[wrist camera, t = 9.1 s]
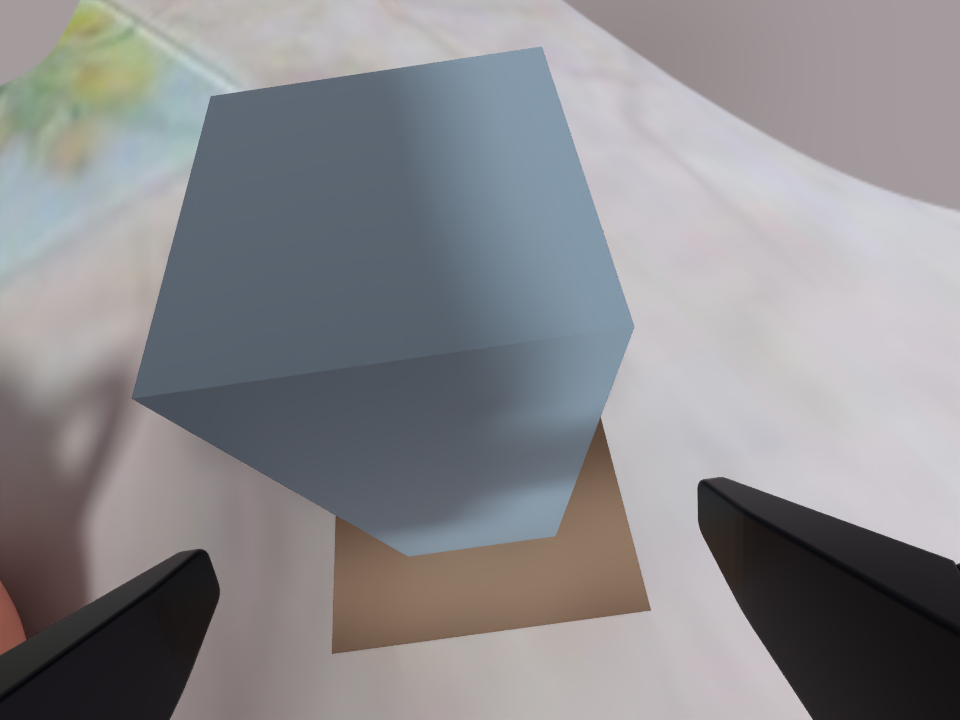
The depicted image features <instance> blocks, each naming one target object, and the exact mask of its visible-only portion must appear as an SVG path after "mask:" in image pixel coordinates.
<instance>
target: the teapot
mask: <svg viewBox="0 0 960 720" xmlns="http://www.w3.org/2000/svg"><path fill="white" fill-rule="evenodd" d="M24 641H26V636H25V633H24V629H23V626H22V622H21V620H20V617H19V615H18V613H17V610H16V608H15V606H14V604H13V602H12V600H11V598H10V596H9V594H8V592H7V591H6V589H5V587H4V586H3V584H2V582H1V580H0V655H1V654H3V653H5V652H7V651H8V650H10V649H12V648H13V647H15V646H17V645H19V644H20V643H22V642H24Z"/></svg>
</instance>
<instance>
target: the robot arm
mask: <svg viewBox="0 0 960 720" xmlns="http://www.w3.org/2000/svg"><path fill="white" fill-rule="evenodd" d="M698 523H699V527H700V530H701V533H702V535H703V537H704V539H705V541H706V543H707V545H708V547H709V549H710V551H711V553H712V555H713V557H714V558H715V560H716V562H717V564H718V566H719V568H720V570H721V572H722V574H723V576H724V578H725V580H726V582H727V584H728V585H729V587H730V589H731V591H732V593H733V595H734V597H735V599H736V601H737V603H738V604H739V606H740V608H741V610H742V612H743V613H744V615H745V616H746V618H747V620H748V621H749V623H750V624H751V626H752V628H753V629H754V631H755V632H756V634H757V635H758V637H759V638H760V640H761V641H762V643H763V644H764V646H765V647H766V649H767V650H768V652H769V653H770V655H771V656H772V658H773V660H774V661H775V663H776V664H777V666H778V667H779V669H780V670H781V672H782V673H783V675H784V676H785V678H786V679H787V681H788V682H789V684H790V685H791V687H792V688H793V690H794V692H795V693H796V695H797V696H798V698H799V699H800V701H801V702H802V704H803V705H804V707H805V708H806V710H807V711H808V713H809V714H810V716H811V717H812V719H813V720H960V563H959V564H957V565H956V563H955V562H954V561H953V560H950V559H948V558H945V557H942V556H939V555H937V554H934V553H931V552H928V551H926V550H923V549H920V548H917V547H915V546H912V545H909V544H906V543H903V542H901V541H898V540H895V539H892V538H890V537H887V536H884V535H881V534H879V533H876V532H873V531H870V530H868V529H865V528H862V527H859V526H857V525H854V524H851V523H848V522H846V521H843V520H840V519H837V518H835V517H832V516H829V515H826V514H823V513H821V512H818V511H815V510H812V509H810V508H807V507H804V506H801V505H799V504H796V503H793V502H790V501H788V500H785V499H782V498H779V497H777V496H774V495H771V494H768V493H766V492H763V491H760V490H757V489H755V488H752V487H749V486H746V485H744V484H741V483H738V482H735V481H733V480H730V479H727V478H724V477H717V478H710V479H703V480H701V481H700V482H699V484H698ZM219 595H220V588H219V583H218V580H217V577H216V574H215V571H214V569H213V566H212V563H211V560H210V557H209V555H208V553H207V552H206V551H205V550H203V549H196V550H189V551H182V552H179V553H177V554H175V555H173V556H172V557H170V558H168V559H166V560H165V561H163V562H161V563H159V564H158V565H156V566H154V567H153V568H151V569H149V570H147V571H146V572H144V573H142V574H140V575H139V576H137V577H135V578H133V579H132V580H130V581H128V582H126V583H125V584H123V585H121V586H120V587H118V588H116V589H114V590H113V591H111V592H109V593H107V594H106V595H104V596H102V597H100V598H99V599H97V600H95V601H93V602H92V603H90V604H88V605H86V606H85V607H83V608H81V609H80V610H78V611H76V612H74V613H73V614H71V615H69V616H67V617H66V618H64V619H62V620H60V621H59V622H57V623H55V624H53V625H52V626H50V627H48V628H47V629H45V630H43V631H41V632H40V633H38V634H36V635H34V636H33V637H31V638H29V639H27V640H26V641H24V642H22V643H20V644H19V645H17V646H15V647H13V648H12V649H10V650H8V651H7V652H5V653H3V654H1V655H0V720H170V718H171V716H172V714H173V712H174V710H175V708H176V706H177V704H178V701H179V699H180V697H181V695H182V693H183V690H184V688H185V686H186V684H187V681H188V679H189V676H190V674H191V671H192V669H193V666H194V664H195V661H196V658H197V656H198V653H199V650H200V648H201V645H202V643H203V640H204V637H205V635H206V632H207V629H208V627H209V624H210V622H211V619H212V616H213V614H214V611H215V608H216V606H217V603H218V600H219Z"/></svg>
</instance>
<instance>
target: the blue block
mask: <svg viewBox="0 0 960 720" xmlns="http://www.w3.org/2000/svg"><path fill="white" fill-rule="evenodd" d="M633 329H634V324H633V321H632V318H631V315H630V312H629V309H628V306H627V303H626V300H625V297H624V294H623V291H622V288H621V285H620V282H619V279H618V276H617V273H616V270H615V267H614V263H613V260H612V257H611V254H610V251H609V248H608V245H607V242H606V239H605V236H604V233H603V230H602V227H601V224H600V221H599V218H598V215H597V212H596V209H595V206H594V203H593V200H592V197H591V194H590V191H589V188H588V185H587V182H586V179H585V176H584V173H583V170H582V167H581V164H580V161H579V158H578V155H577V152H576V148H575V145H574V142H573V139H572V136H571V133H570V130H569V127H568V124H567V121H566V118H565V115H564V112H563V109H562V106H561V103H560V100H559V97H558V94H557V91H556V88H555V85H554V82H553V79H552V76H551V73H550V70H549V67H548V64H547V61H546V58H545V55H544V52H543V49H542V47H536V48H530V49H523V50H516V51H510V52H503V53H497V54H490V55H483V56H477V57H470V58H463V59H457V60H450V61H443V62H437V63H430V64H423V65H417V66H410V67H403V68H397V69H390V70H383V71H377V72H370V73H363V74H357V75H350V76H343V77H337V78H330V79H323V80H317V81H310V82H303V83H297V84H290V85H283V86H277V87H270V88H263V89H257V90H250V91H244V92H237V93H230V94H224V95H217V96H211V98H210V102H209V105H208V109H207V113H206V117H205V121H204V125H203V128H202V132H201V136H200V140H199V144H198V147H197V151H196V155H195V159H194V163H193V167H192V170H191V174H190V178H189V182H188V186H187V189H186V193H185V197H184V201H183V205H182V209H181V212H180V216H179V220H178V224H177V228H176V231H175V235H174V239H173V243H172V247H171V251H170V254H169V258H168V262H167V266H166V270H165V273H164V277H163V281H162V285H161V289H160V293H159V296H158V300H157V304H156V308H155V312H154V315H153V319H152V323H151V327H150V331H149V335H148V338H147V342H146V346H145V350H144V354H143V357H142V361H141V365H140V369H139V373H138V377H137V380H136V384H135V388H134V392H133V396H132V399H133V400H135V401H137V402H139V403H140V404H142V405H144V406H146V407H147V408H149V409H151V410H153V411H154V412H156V413H158V414H160V415H161V416H163V417H165V418H167V419H168V420H170V421H172V422H174V423H175V424H177V425H179V426H181V427H182V428H184V429H186V430H188V431H189V432H191V433H193V434H195V435H196V436H198V437H200V438H202V439H203V440H205V441H207V442H209V443H210V444H212V445H214V446H216V447H217V448H219V449H221V450H223V451H224V452H226V453H228V454H230V455H231V456H233V457H235V458H237V459H238V460H240V461H242V462H244V463H245V464H247V465H249V466H251V467H252V468H254V469H256V470H258V471H259V472H261V473H263V474H265V475H266V476H268V477H270V478H272V479H273V480H275V481H277V482H279V483H280V484H282V485H284V486H286V487H287V488H289V489H291V490H293V491H294V492H296V493H298V494H300V495H301V496H303V497H305V498H307V499H308V500H310V501H312V502H314V503H315V504H317V505H319V506H321V507H322V508H324V509H326V510H328V511H329V512H331V513H333V514H335V515H336V516H338V517H340V518H342V519H343V520H345V521H347V522H349V523H350V524H352V525H354V526H356V527H357V528H359V529H361V530H363V531H364V532H366V533H368V534H370V535H371V536H373V537H375V538H377V539H378V540H380V541H382V542H384V543H385V544H387V545H389V546H391V547H392V548H394V549H396V550H398V551H399V552H401V553H403V554H405V555H406V556H408V557H409V556H416V555H423V554H431V553H438V552H445V551H452V550H460V549H467V548H474V547H481V546H489V545H496V544H503V543H510V542H518V541H525V540H532V539H539V538H547V537H554V536H556V534H557V531H558V528H559V526H560V523H561V520H562V518H563V515H564V512H565V510H566V507H567V504H568V502H569V499H570V496H571V494H572V491H573V488H574V486H575V483H576V480H577V478H578V475H579V473H580V470H581V467H582V465H583V462H584V459H585V457H586V454H587V451H588V449H589V446H590V443H591V441H592V438H593V435H594V433H595V430H596V427H597V425H598V422H599V419H600V417H601V414H602V411H603V409H604V406H605V404H606V401H607V398H608V396H609V393H610V390H611V388H612V385H613V382H614V380H615V377H616V374H617V372H618V369H619V366H620V364H621V361H622V358H623V356H624V353H625V350H626V348H627V345H628V342H629V340H630V337H631V334H632V332H633Z"/></svg>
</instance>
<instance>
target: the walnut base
mask: <svg viewBox="0 0 960 720" xmlns="http://www.w3.org/2000/svg"><path fill="white" fill-rule="evenodd" d="M650 610H651V609H650V605H649V601H648V597H647V594H646V590H645V586H644V582H643V578H642V574H641V570H640V567H639V563H638V559H637V555H636V551H635V547H634V544H633V540H632V536H631V532H630V528H629V524H628V521H627V517H626V513H625V509H624V505H623V501H622V498H621V494H620V490H619V486H618V482H617V478H616V475H615V471H614V467H613V463H612V459H611V455H610V452H609V448H608V444H607V440H606V436H605V432H604V429H603V425H602V421H601V417H600V419H599V422H598V425H597V427H596V430H595V433H594V435H593V438H592V441H591V443H590V446H589V449H588V451H587V454H586V457H585V459H584V462H583V465H582V467H581V470H580V473H579V475H578V478H577V480H576V483H575V486H574V488H573V491H572V494H571V496H570V499H569V502H568V504H567V507H566V510H565V512H564V515H563V518H562V520H561V523H560V526H559V528H558V531H557V534H556V536H554V537H547V538H539V539H532V540H525V541H518V542H510V543H503V544H496V545H489V546H481V547H474V548H467V549H460V550H452V551H445V552H438V553H431V554H423V555H416V556H409V557H408V556H406V555H405V554H403V553H401V552H399V551H398V550H396V549H394V548H392V547H391V546H389V545H387V544H385V543H384V542H382V541H380V540H378V539H377V538H375V537H373V536H371V535H370V534H368V533H366V532H364V531H363V530H361V529H359V528H357V527H356V526H354V525H352V524H350V523H349V522H347V521H345V520H343V519H342V518H340V517H338V516H336V529H335V565H334V600H333V636H332V654H334V653H342V652H349V651H356V650H364V649H371V648H378V647H386V646H393V645H400V644H408V643H415V642H422V641H430V640H437V639H444V638H452V637H459V636H466V635H474V634H481V633H488V632H496V631H503V630H510V629H518V628H525V627H533V626H540V625H547V624H555V623H562V622H569V621H577V620H584V619H591V618H599V617H606V616H613V615H621V614H628V613H635V612H643V611H650Z"/></svg>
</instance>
